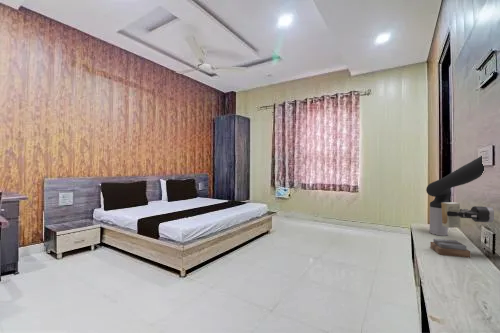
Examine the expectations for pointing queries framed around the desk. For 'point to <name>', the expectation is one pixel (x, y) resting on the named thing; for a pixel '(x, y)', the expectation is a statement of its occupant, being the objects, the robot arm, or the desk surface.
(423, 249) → the desk surface
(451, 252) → the metal plate on wood
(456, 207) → the skincare box
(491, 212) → the robot arm
